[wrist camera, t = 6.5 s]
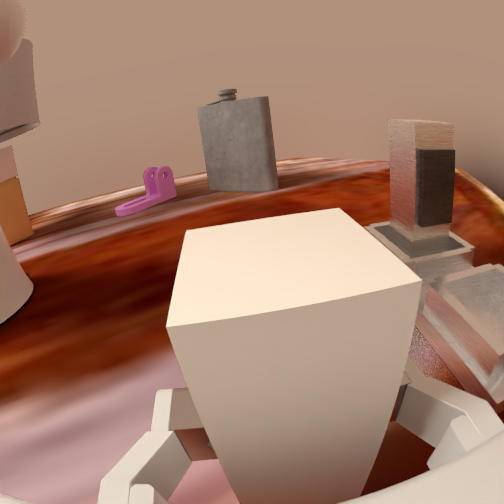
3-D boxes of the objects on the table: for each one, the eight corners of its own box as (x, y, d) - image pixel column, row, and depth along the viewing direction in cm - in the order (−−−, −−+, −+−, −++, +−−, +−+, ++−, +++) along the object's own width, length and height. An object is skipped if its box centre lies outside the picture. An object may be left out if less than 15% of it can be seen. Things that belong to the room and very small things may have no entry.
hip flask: (281, 187, 61) (269, 83, 52) (271, 192, 58) (258, 82, 49) (215, 185, 69) (202, 95, 61) (203, 191, 66) (189, 96, 58)
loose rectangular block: (257, 535, 9) (165, 326, 4) (246, 455, 14) (188, 223, 9) (350, 516, 10) (422, 280, 5) (325, 440, 14) (331, 201, 9)
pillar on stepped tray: (486, 420, 12) (571, 161, 6) (353, 254, 32) (348, 118, 26) (562, 367, 12) (622, 167, 7) (419, 242, 32) (422, 118, 27)
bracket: (161, 195, 69) (155, 165, 66) (177, 196, 65) (170, 164, 62) (111, 215, 60) (103, 182, 57) (124, 218, 56) (116, 182, 54)
